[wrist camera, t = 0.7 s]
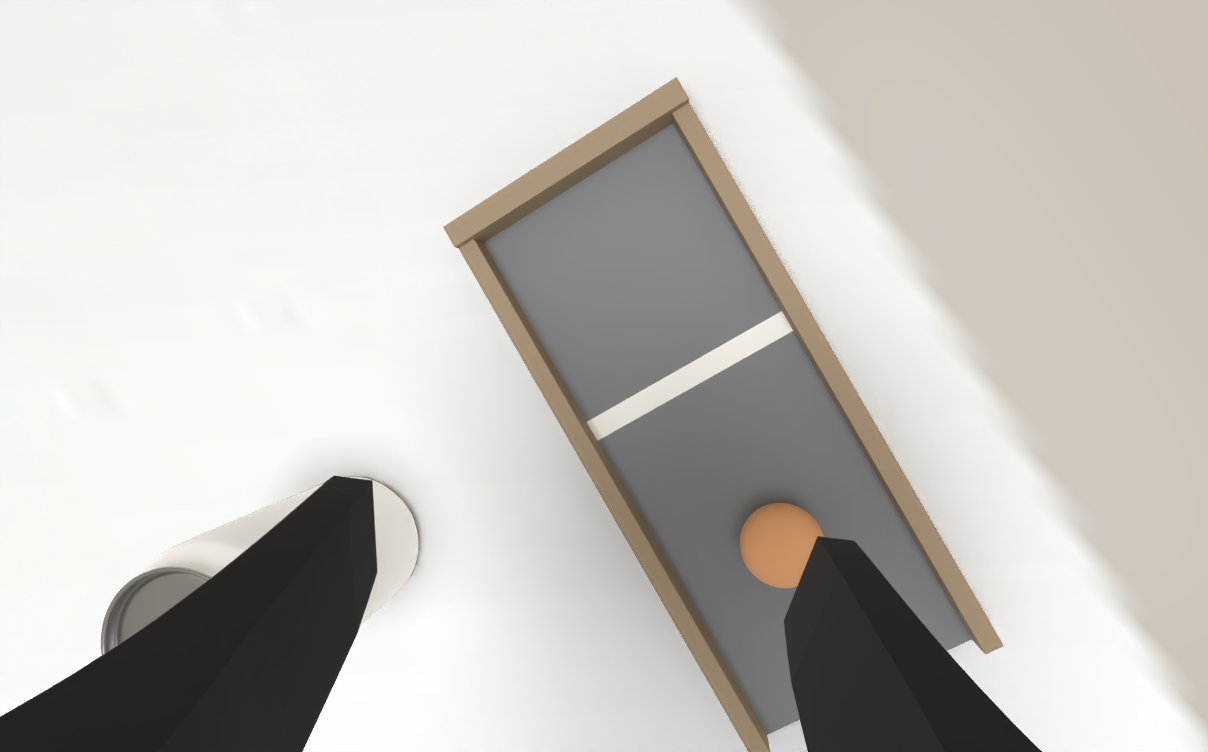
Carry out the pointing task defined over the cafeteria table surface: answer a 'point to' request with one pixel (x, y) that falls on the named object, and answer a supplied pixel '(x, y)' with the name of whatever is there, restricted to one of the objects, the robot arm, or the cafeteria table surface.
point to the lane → (699, 391)
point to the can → (222, 545)
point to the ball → (778, 543)
